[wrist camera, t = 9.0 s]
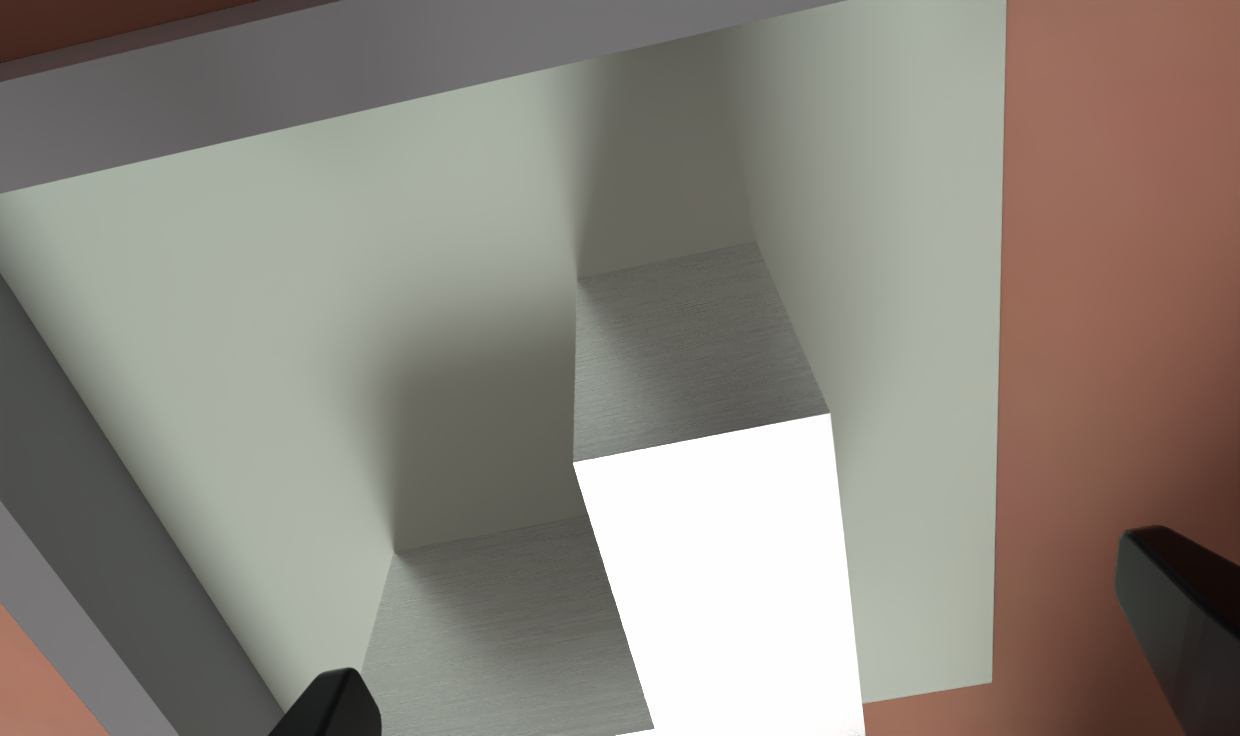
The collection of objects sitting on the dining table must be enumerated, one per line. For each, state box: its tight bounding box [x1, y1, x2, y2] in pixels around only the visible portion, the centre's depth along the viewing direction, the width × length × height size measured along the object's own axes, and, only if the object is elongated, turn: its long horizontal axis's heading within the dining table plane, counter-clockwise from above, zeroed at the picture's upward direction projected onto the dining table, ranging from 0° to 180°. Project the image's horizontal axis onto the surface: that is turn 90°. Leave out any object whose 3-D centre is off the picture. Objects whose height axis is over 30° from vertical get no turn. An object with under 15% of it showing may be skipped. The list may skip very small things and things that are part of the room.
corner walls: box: [0, 0, 846, 736], centre depth 15 cm, size 18×17×3 cm
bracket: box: [360, 241, 865, 736], centre depth 14 cm, size 8×8×5 cm
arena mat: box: [0, 0, 1006, 714], centre depth 17 cm, size 16×16×1 cm
